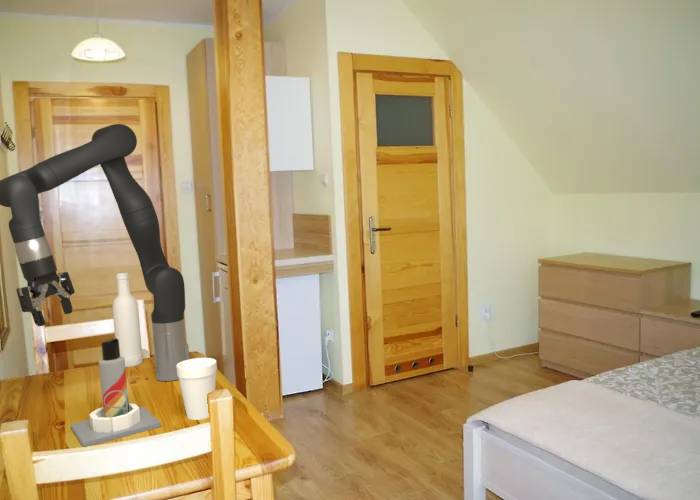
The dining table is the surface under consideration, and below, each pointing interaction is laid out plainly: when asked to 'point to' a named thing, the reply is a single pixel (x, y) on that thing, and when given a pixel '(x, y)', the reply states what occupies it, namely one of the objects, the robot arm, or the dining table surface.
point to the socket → (114, 425)
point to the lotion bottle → (113, 380)
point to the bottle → (127, 322)
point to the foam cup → (197, 385)
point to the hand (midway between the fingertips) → (55, 319)
